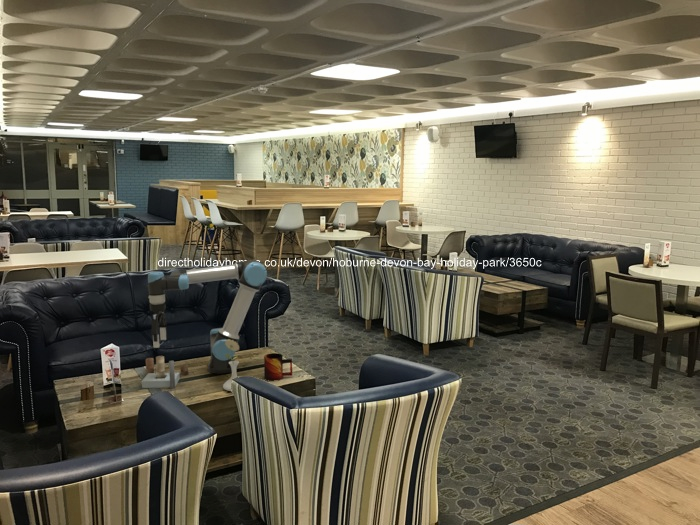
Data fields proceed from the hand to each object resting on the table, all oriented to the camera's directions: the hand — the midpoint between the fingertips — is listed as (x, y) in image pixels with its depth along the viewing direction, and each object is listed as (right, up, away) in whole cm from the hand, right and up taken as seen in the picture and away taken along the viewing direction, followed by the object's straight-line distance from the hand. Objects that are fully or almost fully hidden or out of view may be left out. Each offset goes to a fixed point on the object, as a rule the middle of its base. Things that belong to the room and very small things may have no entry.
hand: (160, 343), depth 283 cm
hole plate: (0, -21, +2) cm, 21 cm away
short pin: (+8, -19, +16) cm, 26 cm away
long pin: (0, -21, +3) cm, 21 cm away
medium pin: (-10, -19, +15) cm, 26 cm away
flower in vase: (+38, -22, -4) cm, 44 cm away
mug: (+58, -20, +12) cm, 63 cm away
